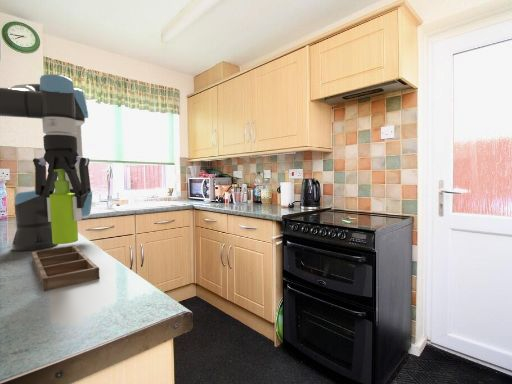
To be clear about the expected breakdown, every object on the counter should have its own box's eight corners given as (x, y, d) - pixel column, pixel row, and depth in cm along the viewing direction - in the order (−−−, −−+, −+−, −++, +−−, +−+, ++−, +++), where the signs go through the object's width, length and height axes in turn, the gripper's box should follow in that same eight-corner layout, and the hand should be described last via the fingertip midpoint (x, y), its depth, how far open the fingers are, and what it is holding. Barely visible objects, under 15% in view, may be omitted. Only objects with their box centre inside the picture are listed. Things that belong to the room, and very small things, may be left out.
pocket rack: (32, 260, 99) (31, 251, 98) (75, 253, 107) (74, 245, 107) (43, 291, 72) (43, 279, 72) (99, 278, 80) (98, 267, 80)
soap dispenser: (86, 239, 82) (82, 168, 80) (61, 245, 75) (56, 168, 74) (73, 237, 84) (69, 169, 83) (47, 243, 78) (42, 168, 77)
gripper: (12, 134, 74) (19, 223, 75) (89, 132, 75) (94, 221, 76) (33, 137, 81) (39, 219, 83) (102, 136, 82) (107, 217, 84)
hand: (65, 220), depth 79 cm, fingers closed on soap dispenser, 6 cm apart
